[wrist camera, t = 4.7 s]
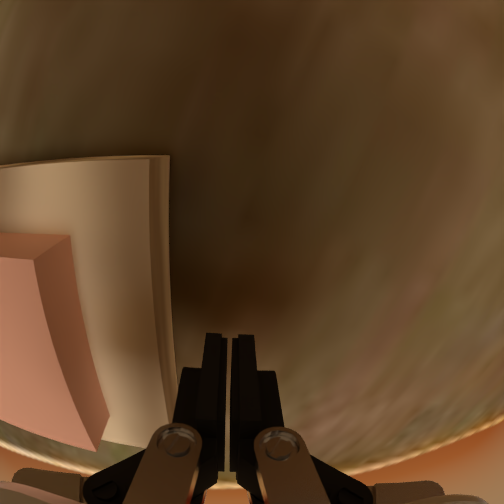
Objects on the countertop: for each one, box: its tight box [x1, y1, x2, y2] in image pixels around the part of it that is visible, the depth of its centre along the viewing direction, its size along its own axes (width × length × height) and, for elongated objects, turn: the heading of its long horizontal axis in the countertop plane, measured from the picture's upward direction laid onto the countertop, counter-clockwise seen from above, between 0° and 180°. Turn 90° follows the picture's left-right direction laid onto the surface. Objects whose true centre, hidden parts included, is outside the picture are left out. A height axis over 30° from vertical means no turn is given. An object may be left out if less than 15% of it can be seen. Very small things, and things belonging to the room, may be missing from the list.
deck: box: [0, 155, 178, 448], centre depth 12 cm, size 13×14×3 cm
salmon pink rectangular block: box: [0, 233, 110, 452], centre depth 10 cm, size 6×9×2 cm, turn 176°
